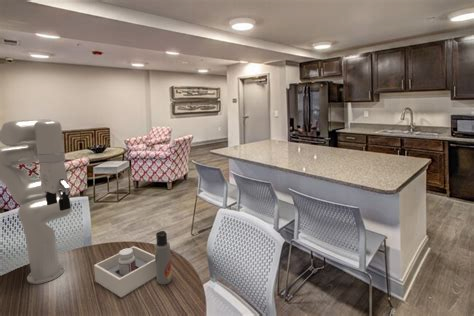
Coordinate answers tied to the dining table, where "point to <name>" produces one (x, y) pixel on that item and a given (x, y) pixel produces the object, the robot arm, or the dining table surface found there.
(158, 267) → the lotion bottle
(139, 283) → the box
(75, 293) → the dining table surface
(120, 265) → the pill bottle
